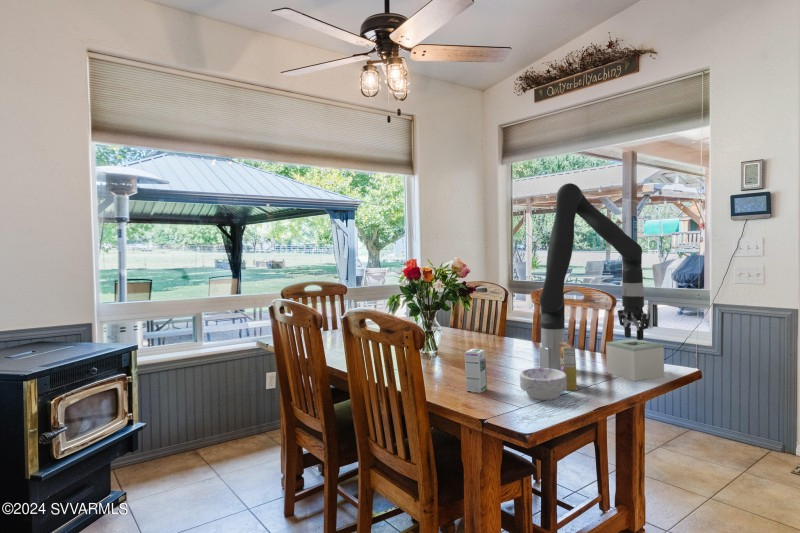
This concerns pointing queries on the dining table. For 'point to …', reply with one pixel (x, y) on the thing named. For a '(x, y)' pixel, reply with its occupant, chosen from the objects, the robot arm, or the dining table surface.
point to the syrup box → (475, 370)
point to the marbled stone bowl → (543, 383)
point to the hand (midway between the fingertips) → (633, 338)
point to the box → (635, 359)
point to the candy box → (568, 364)
